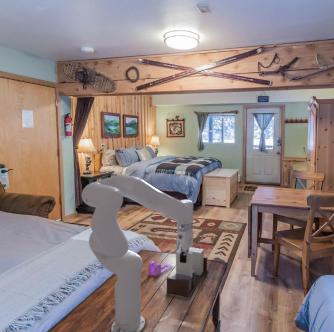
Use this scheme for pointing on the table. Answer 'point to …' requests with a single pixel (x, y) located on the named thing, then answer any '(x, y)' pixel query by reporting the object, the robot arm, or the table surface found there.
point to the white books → (197, 259)
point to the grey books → (187, 278)
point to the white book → (184, 264)
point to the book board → (184, 283)
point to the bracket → (157, 268)
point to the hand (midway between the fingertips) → (184, 261)
